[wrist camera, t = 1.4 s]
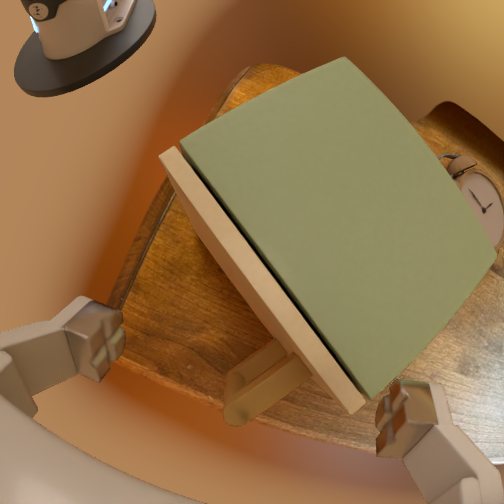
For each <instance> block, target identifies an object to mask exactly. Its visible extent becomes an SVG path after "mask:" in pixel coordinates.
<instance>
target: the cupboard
mask: <svg viewBox="0 0 504 504" xmlns="http://www.w3.org/2000/svg"><path fill="white" fill-rule="evenodd" d="M179 144H180V147H181V150H182V154H183V157H184V159H185V160H186V162H187V163H188V164H189V166H190V167H191V168H192V170H193V171H194V172H195V174H196V175H197V176H198V178H199V179H200V180H201V182H202V183H203V184H204V186H205V187H206V188H207V190H208V191H209V192H210V194H211V195H212V196H213V198H214V199H215V200H216V202H217V203H218V204H219V206H220V207H221V208H222V210H223V211H224V212H225V214H226V215H227V216H228V218H229V219H230V220H231V222H232V223H233V224H234V226H235V227H236V228H237V230H238V231H239V232H240V234H241V235H242V236H243V238H244V239H245V240H246V242H247V243H248V244H249V246H250V247H251V248H252V250H253V251H254V252H255V254H256V255H257V256H258V258H259V259H260V260H261V262H262V263H263V264H264V266H265V267H266V268H267V270H268V271H269V272H270V274H271V275H272V276H273V278H274V279H275V280H276V282H277V283H278V284H279V286H280V287H281V288H282V290H283V291H284V292H285V294H286V295H287V297H288V298H289V299H290V301H291V302H292V303H293V305H294V306H295V307H296V309H297V310H298V311H299V313H300V314H301V315H302V317H303V318H304V319H305V321H306V322H307V323H308V325H309V326H310V327H311V329H312V330H313V331H314V333H315V334H316V335H317V337H318V338H319V339H320V341H321V342H322V343H323V345H324V346H325V347H326V349H327V350H328V352H329V353H330V354H331V356H332V357H333V358H334V360H335V361H336V362H337V364H338V365H339V366H340V368H341V369H342V370H343V372H344V373H345V374H346V376H347V377H348V378H349V380H350V381H351V382H352V384H353V385H354V386H355V388H356V389H357V390H358V391H359V392H361V393H362V394H364V395H365V396H367V397H369V398H370V399H373V398H374V397H375V396H376V395H377V394H378V393H380V392H381V391H382V390H383V389H384V388H385V387H386V386H387V385H388V384H389V383H391V382H392V381H393V380H394V379H395V378H396V377H397V376H398V375H399V374H400V373H401V372H402V371H403V370H404V369H405V368H406V367H407V366H408V365H409V364H410V363H411V362H412V361H413V360H414V359H415V358H416V357H417V356H418V355H419V354H420V353H421V352H422V351H423V350H424V349H425V348H426V347H427V345H428V344H429V343H430V342H431V341H432V340H433V339H434V338H435V337H436V336H437V334H438V333H439V332H440V331H441V330H442V329H443V328H444V327H445V325H446V324H447V323H448V322H449V321H450V320H451V318H452V317H453V316H454V315H455V314H456V312H457V311H458V310H459V309H460V307H461V306H462V305H463V304H464V302H465V301H466V300H467V299H468V297H469V296H470V295H471V293H472V292H473V291H474V289H475V288H476V287H477V285H478V284H479V283H480V281H481V280H482V279H483V277H484V276H485V275H486V273H487V272H488V270H489V269H490V267H491V266H492V265H493V263H494V262H495V260H496V259H497V257H498V255H497V253H496V251H495V249H494V247H493V245H492V243H491V241H490V239H489V238H488V236H487V234H486V232H485V230H484V229H483V227H482V225H481V223H480V222H479V220H478V218H477V217H476V215H475V213H474V212H473V210H472V208H471V207H470V205H469V203H468V202H467V200H466V199H465V197H464V196H463V194H462V193H461V191H460V189H459V188H458V186H457V185H456V184H455V182H454V181H453V179H452V178H451V176H450V175H449V173H448V172H447V171H446V169H445V168H444V166H443V165H442V164H441V162H440V161H439V160H438V158H437V157H436V155H435V154H434V153H433V152H432V150H431V149H430V148H429V146H428V145H427V144H426V143H425V141H424V140H423V139H422V138H421V136H420V135H419V134H418V133H417V131H416V130H415V129H414V128H413V127H412V125H411V124H410V123H409V122H408V121H407V120H406V118H405V117H404V116H403V115H402V114H401V113H400V111H399V110H398V109H397V108H396V107H395V106H394V105H393V104H392V103H391V102H390V101H389V100H388V98H387V97H386V96H385V95H384V94H383V93H382V92H381V91H380V90H379V89H378V88H377V87H376V86H375V85H374V84H373V83H372V82H371V81H370V80H369V79H368V78H367V77H366V76H365V75H364V74H363V73H362V72H361V71H360V70H359V69H358V68H357V67H356V66H355V65H354V64H353V63H352V62H350V61H349V60H348V59H347V58H346V57H342V58H339V59H337V60H334V61H332V62H329V63H327V64H325V65H322V66H320V67H318V68H315V69H313V70H311V71H309V72H306V73H304V74H302V75H300V76H297V77H295V78H293V79H291V80H289V81H287V82H285V83H283V84H280V85H278V86H276V87H274V88H272V89H270V90H268V91H266V92H264V93H262V94H260V95H258V96H257V97H255V98H253V99H251V100H249V101H247V102H245V103H243V104H241V105H240V106H238V107H236V108H234V109H232V110H230V111H229V112H227V113H225V114H223V115H222V116H220V117H218V118H216V119H215V120H213V121H211V122H209V123H208V124H206V125H204V126H203V127H201V128H199V129H198V130H196V131H195V132H193V133H191V134H190V135H188V136H186V137H185V138H183V139H182V140H180V141H179Z"/></svg>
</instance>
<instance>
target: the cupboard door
mask: <svg viewBox="0 0 504 504" xmlns="http://www.w3.org/2000/svg"><path fill="white" fill-rule="evenodd" d="M159 159H160V161H161V163H162V166H163V167H164V170H165V172H166V173H167V176H168V178H169V180H170V182H171V184H172V186H173V188H174V190H175V192H176V194H177V196H178V198H179V200H180V202H181V204H182V206H183V208H184V210H185V212H186V214H187V216H188V218H189V220H190V222H191V224H192V226H193V228H194V230H195V232H196V234H197V235H198V237H199V238H200V239H201V241H202V242H203V244H204V245H205V246H206V248H207V249H208V250H209V252H210V253H211V255H212V256H213V257H214V259H215V260H216V262H217V263H218V264H219V266H220V267H221V268H222V270H223V271H224V273H225V274H226V275H227V277H228V278H229V279H230V281H231V282H232V283H233V285H234V286H235V287H236V289H237V290H238V292H239V293H240V294H241V296H242V297H243V298H244V300H245V301H246V302H247V304H248V305H249V306H250V308H251V309H252V310H253V312H254V313H255V314H256V316H257V317H258V318H259V320H260V321H261V322H262V324H263V325H264V326H265V328H266V329H267V330H268V331H269V333H270V334H271V335H272V337H273V339H272V340H271V341H269V342H268V343H267V344H265V345H264V346H263V347H261V348H260V349H258V350H257V351H256V352H254V353H253V354H252V355H250V356H249V357H247V358H246V359H245V360H243V361H242V362H240V363H239V364H238V365H236V366H235V367H233V368H232V369H231V370H229V371H228V372H227V374H226V382H225V395H224V407H223V418H224V420H225V421H226V422H227V423H228V424H229V425H231V426H242V425H244V424H246V423H247V422H249V421H250V420H252V419H253V418H255V417H256V416H258V415H259V414H261V413H262V412H264V411H265V410H267V409H268V408H270V407H271V406H272V405H274V404H275V403H277V402H278V401H279V400H281V399H282V398H284V397H285V396H286V395H288V394H289V393H290V392H292V391H293V390H295V389H296V388H297V387H299V386H300V385H301V384H303V383H304V382H305V381H306V380H308V379H309V378H311V379H312V380H313V381H314V382H315V383H316V384H317V385H318V386H319V387H320V388H321V389H323V390H324V391H325V392H326V393H327V394H328V395H329V396H330V397H331V398H332V399H333V400H335V401H336V402H337V403H338V404H339V405H340V406H341V407H342V408H343V409H344V410H346V411H347V412H348V413H349V414H350V415H352V414H353V413H355V412H356V411H357V410H358V409H359V408H361V407H362V406H363V405H364V404H365V403H366V401H365V400H364V399H363V397H362V396H361V395H360V393H359V392H358V390H357V389H356V388H355V386H354V385H353V384H352V382H351V381H350V380H349V378H348V377H347V376H346V374H345V373H344V372H343V370H342V369H341V368H340V366H339V365H338V364H337V362H336V361H335V360H334V358H333V357H332V356H331V354H330V353H329V352H328V350H327V349H326V347H325V346H324V345H323V343H322V342H321V341H320V339H319V338H318V337H317V335H316V334H315V333H314V331H313V330H312V329H311V327H310V326H309V325H308V323H307V322H306V321H305V319H304V318H303V317H302V315H301V314H300V313H299V311H298V310H297V309H296V307H295V306H294V305H293V303H292V302H291V301H290V299H289V298H288V297H287V295H286V294H285V292H284V291H283V290H282V288H281V287H280V286H279V284H278V283H277V282H276V280H275V279H274V278H273V276H272V275H271V274H270V272H269V271H268V270H267V268H266V267H265V266H264V264H263V263H262V262H261V260H260V259H259V258H258V256H257V255H256V254H255V252H254V251H253V250H252V248H251V247H250V246H249V244H248V243H247V242H246V240H245V239H244V238H243V236H242V235H241V234H240V232H239V231H238V230H237V228H236V227H235V226H234V224H233V223H232V222H231V220H230V219H229V218H228V216H227V215H226V214H225V212H224V211H223V210H222V208H221V207H220V206H219V204H218V203H217V202H216V200H215V199H214V198H213V196H212V195H211V194H210V192H209V191H208V190H207V188H206V187H205V186H204V184H203V183H202V182H201V180H200V179H199V178H198V176H197V175H196V174H195V172H194V171H193V170H192V168H191V167H190V166H189V164H188V163H187V162H186V160H185V159H184V158H183V156H182V155H181V154H180V152H179V151H178V150H177V148H176V147H175V146H173V147H171V148H170V149H168V150H167V151H165V152H164V153H162V154H161V155H159ZM286 355H287V356H286ZM285 356H286V357H285ZM283 357H285V358H284V359H282V358H283ZM281 359H282V360H281ZM279 360H281V361H280V362H278V361H279ZM277 362H278V363H277ZM275 363H277V364H276V365H274V364H275ZM272 365H274V366H273V367H272V368H270V367H271V366H272ZM268 368H270V369H269V370H268V371H266V370H267V369H268ZM264 371H266V372H265V373H263V372H264ZM261 373H263V374H262V375H261V376H259V375H260V374H261ZM257 376H259V377H258V378H256V377H257ZM254 378H256V379H255V380H254V381H252V380H253V379H254ZM250 381H252V382H251V383H249V382H250ZM247 383H249V384H248V385H246V384H247ZM245 385H246V386H245Z"/></svg>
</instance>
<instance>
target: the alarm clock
mask: <svg viewBox="0 0 504 504" xmlns="http://www.w3.org/2000/svg"><path fill="white" fill-rule="evenodd" d="M442 157H447V158H450V159H453V160H452V161H451V162H450V163H449V165H448V168H447V172H448V173H449V175H450V176H451V178H452V179H453V181H454V182H455V184H456V185H457V186H458V188H459V189H460V191H461V193H462V194H463V196H464V197H465V199H466V200H467V202H468V203H469V205H470V207H471V208H472V210H473V212H474V213H475V215H476V217H477V218H478V220H479V222H480V223H481V225H482V227H483V229H484V230H485V232H486V234H487V236H488V238H489V239H490V241H491V243H492V245H493V247H494V249H495V251H497V250H498V249H500V248H501V246H502V245H503V243H504V198H503V195H502V193H501V191H500V189H499V187H498V186H497V184H496V182H495V181H494V180H493V179H492V178H491V177H490V175H489V174H487V173H486V172H484V171H483V170H481V169H476V168H472V169H470V170H467V169H469V168H471V167H473V166H475V165H477V163H476V161H475V160H474V159H473V158H472V157H470V156H461V155H459V154H458V153H456V154H455V155H453V154H450V153H444V154H442V155H441V156H439V157H437V158H438V160H439V161H440V159H441V158H442ZM454 158H455V159H454ZM464 170H467V171H465V172H464ZM460 172H462V174H460V175H457V176H455V177H453V175H455V174H457V173H460Z"/></svg>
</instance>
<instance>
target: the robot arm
mask: <svg viewBox="0 0 504 504" xmlns="http://www.w3.org/2000/svg"><path fill="white" fill-rule="evenodd" d="M136 1H137V0H21V2H22V4H23V6H24V8H25V10H26V11H27V13H28V14H29V15H30V16H31V20H32V23H33V26H34V29H35V31H36V33H37V32H38V34H39V39H40V41H41V43H42V47H43V52H44V55H45V56H46V57H47V58H49V59H52V60H60V59H65V58H69V57H72V56H74V55H77V54H79V53H81V52H83V51H85V50H87V49H89V48H90V47H92V46H94V45H95V44H97V43H98V42H99V41H101V40H102V39H104V38H106V37H107V36H110V35H112V34H115V33H117V32H119V31H121V30H123V29H124V28H125V26H126V24H127V21H128V19H129V17H130V14H131V12H132V10H133V8H134V5H135V3H136ZM123 322H124V319H123V313H122V312H121V311H120V310H118V309H115V308H113V307H110V306H108V305H105V304H103V303H100V302H98V301H95V300H92V299H90V298H87V297H85V296H78V297H77V298H76V299H74V300H73V301H72V302H71V303H70V304H69V305H67V306H66V307H65V308H64V309H63V310H62V311H61V312H59V313H58V314H57V315H56V316H55V317H54V318H53V319H51V320H50V321H49V322H48V321H46V320H45V321H41V322H37V323H33V324H30V325H26V326H23V327H19V328H15V329H11V330H8V331H4V332H0V504H207V503H203V502H200V501H197V500H193V499H191V498H187V497H185V496H182V495H179V494H176V493H173V492H170V491H168V490H165V489H162V488H160V487H157V486H155V485H152V484H150V483H147V482H145V481H143V480H140V479H138V478H136V477H133V476H131V475H129V474H127V473H125V472H122V471H120V470H118V469H116V468H114V467H112V466H110V465H108V464H106V463H104V462H102V461H100V460H98V459H97V458H95V457H93V456H91V455H89V454H87V453H86V452H84V451H82V450H80V449H78V448H77V447H75V446H73V445H72V444H70V443H68V442H67V441H65V440H63V439H62V438H60V437H59V436H57V435H56V434H54V433H53V432H51V431H49V430H48V429H46V428H45V427H44V426H42V425H41V424H39V423H38V422H36V421H34V420H33V419H32V418H33V417H34V415H35V414H36V413H37V411H38V408H37V405H36V404H35V402H34V400H33V398H32V396H33V395H35V394H37V393H39V392H42V391H44V390H46V389H48V388H50V387H52V386H54V385H56V384H59V383H61V382H63V381H65V380H67V379H69V378H71V377H73V376H75V375H77V374H78V373H79V374H81V375H83V376H85V377H88V378H90V379H92V380H94V381H96V382H98V383H100V382H101V380H102V379H103V378H104V376H105V375H106V374H107V373H108V371H109V370H110V362H113V361H116V360H118V358H119V357H120V356H121V354H122V353H123V350H124V348H125V344H126V334H125V331H124V330H123V328H122V327H121V324H122V323H123ZM389 388H390V394H388V395H386V396H384V397H383V398H382V400H381V401H380V403H379V405H378V408H377V411H376V417H375V426H376V428H377V429H378V430H379V432H380V434H379V435H378V437H377V438H376V453H377V457H386V458H400V459H402V462H403V464H404V465H405V467H406V468H407V470H408V472H409V474H410V475H411V477H412V479H413V480H414V482H415V484H416V485H417V487H418V489H419V491H420V492H421V494H422V496H423V498H424V499H425V501H426V503H427V504H504V492H503V486H502V481H501V476H500V472H499V471H498V470H497V468H496V467H495V466H494V465H493V464H492V463H491V462H490V461H489V459H488V458H487V457H486V456H485V455H484V454H483V453H482V452H481V451H480V449H479V448H478V447H477V446H476V445H475V444H474V443H473V442H472V441H471V440H470V438H469V437H468V436H467V435H466V434H465V433H464V432H463V431H462V430H461V429H460V427H459V426H458V425H453V421H452V417H451V413H450V409H449V405H448V402H447V398H446V395H445V391H444V388H443V386H442V384H441V383H431V382H420V381H411V380H403V379H396V380H395V381H393V383H392V384H391V386H390V387H389Z"/></svg>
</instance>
